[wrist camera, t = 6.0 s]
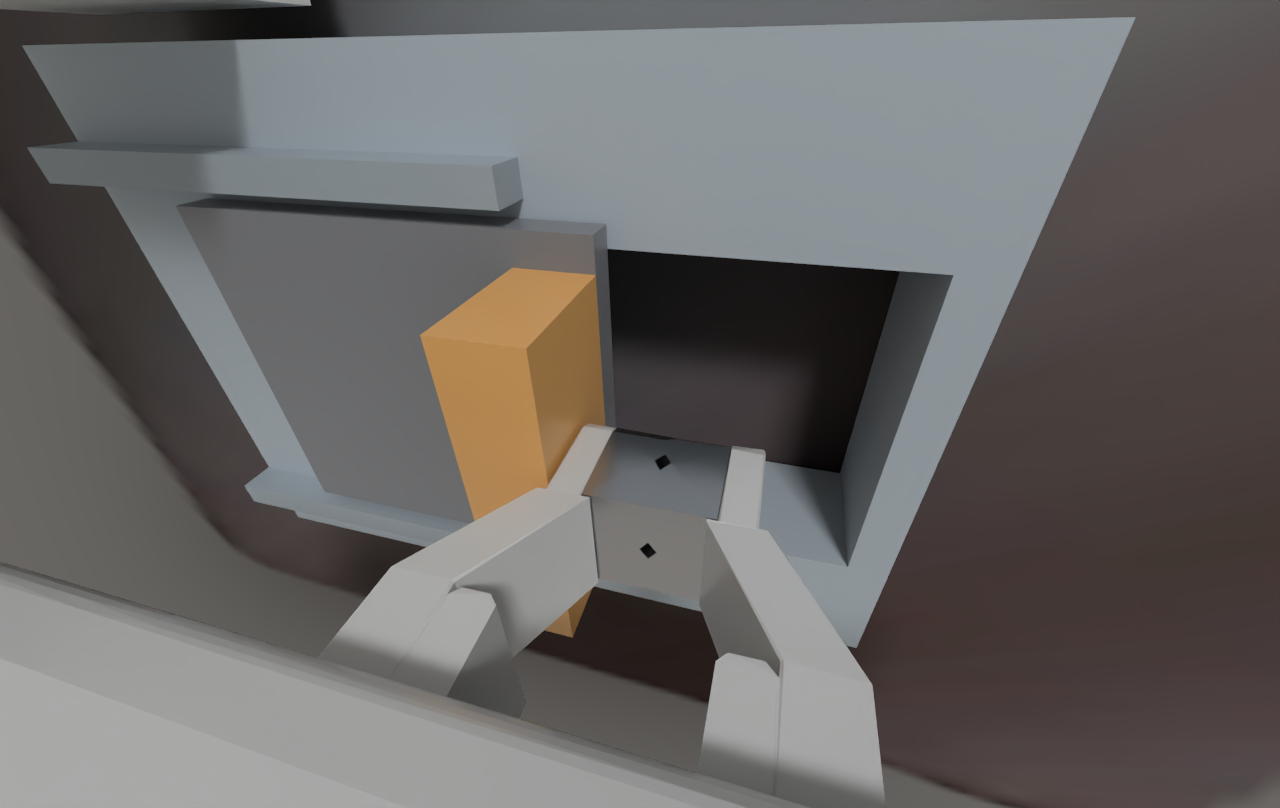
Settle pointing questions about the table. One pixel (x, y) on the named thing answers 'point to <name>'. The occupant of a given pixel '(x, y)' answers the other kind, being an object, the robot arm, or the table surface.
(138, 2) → the white block
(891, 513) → the socket
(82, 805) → the robot arm
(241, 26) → the table surface
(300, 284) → the shutter
